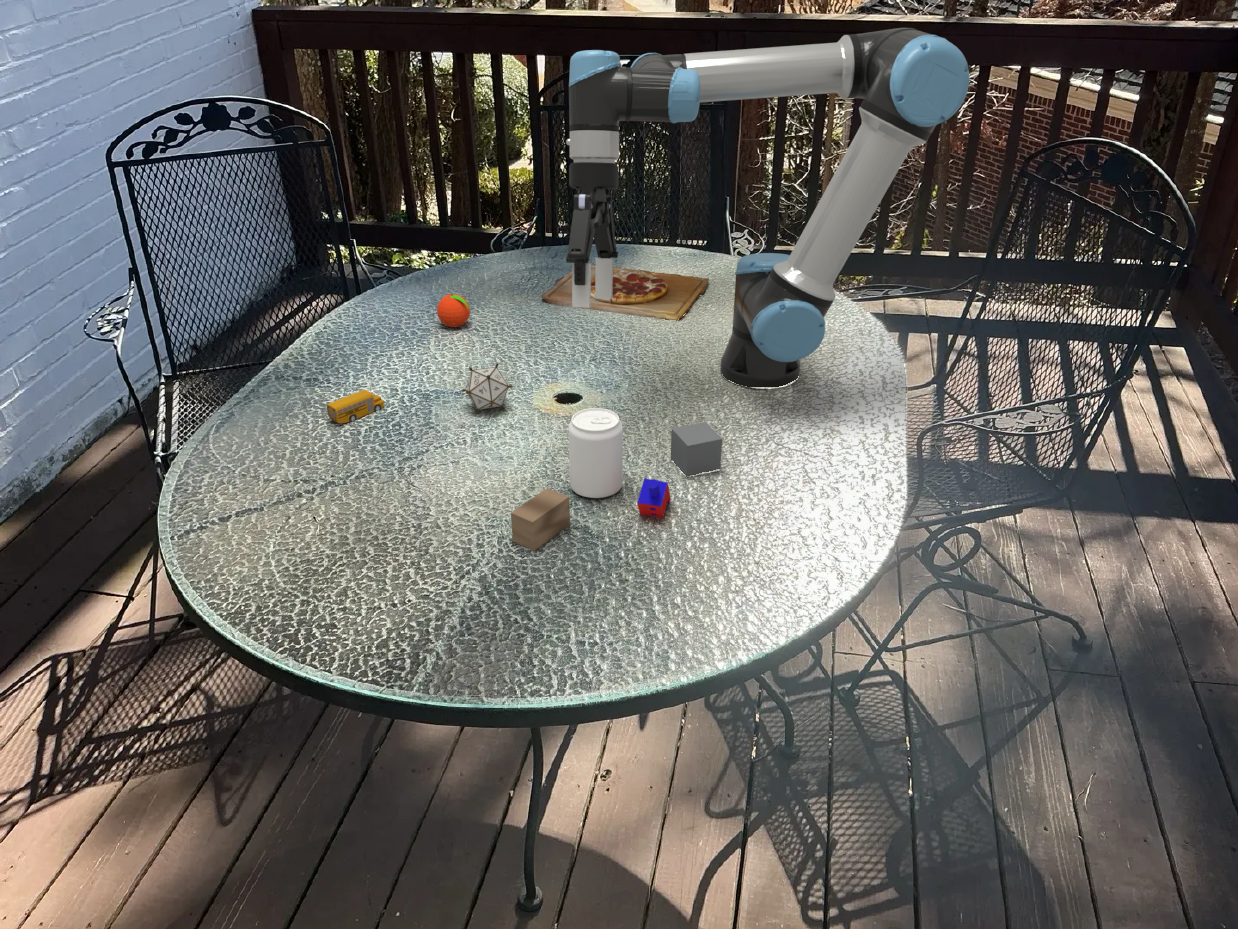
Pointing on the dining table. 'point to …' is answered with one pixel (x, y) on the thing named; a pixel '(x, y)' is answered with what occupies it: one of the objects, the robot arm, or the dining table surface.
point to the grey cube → (696, 448)
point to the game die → (486, 388)
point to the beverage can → (595, 452)
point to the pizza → (636, 293)
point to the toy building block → (653, 498)
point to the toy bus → (354, 406)
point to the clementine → (453, 310)
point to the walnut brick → (540, 519)
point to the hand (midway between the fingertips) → (593, 302)
